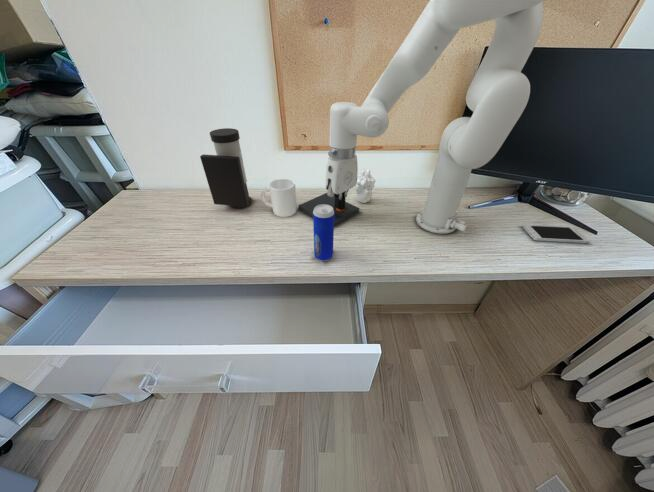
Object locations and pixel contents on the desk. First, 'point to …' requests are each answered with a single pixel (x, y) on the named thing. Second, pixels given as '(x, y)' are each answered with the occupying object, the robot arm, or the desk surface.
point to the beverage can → (323, 231)
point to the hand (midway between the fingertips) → (339, 207)
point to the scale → (324, 199)
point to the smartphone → (555, 234)
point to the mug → (281, 197)
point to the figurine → (364, 186)
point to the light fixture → (226, 170)
